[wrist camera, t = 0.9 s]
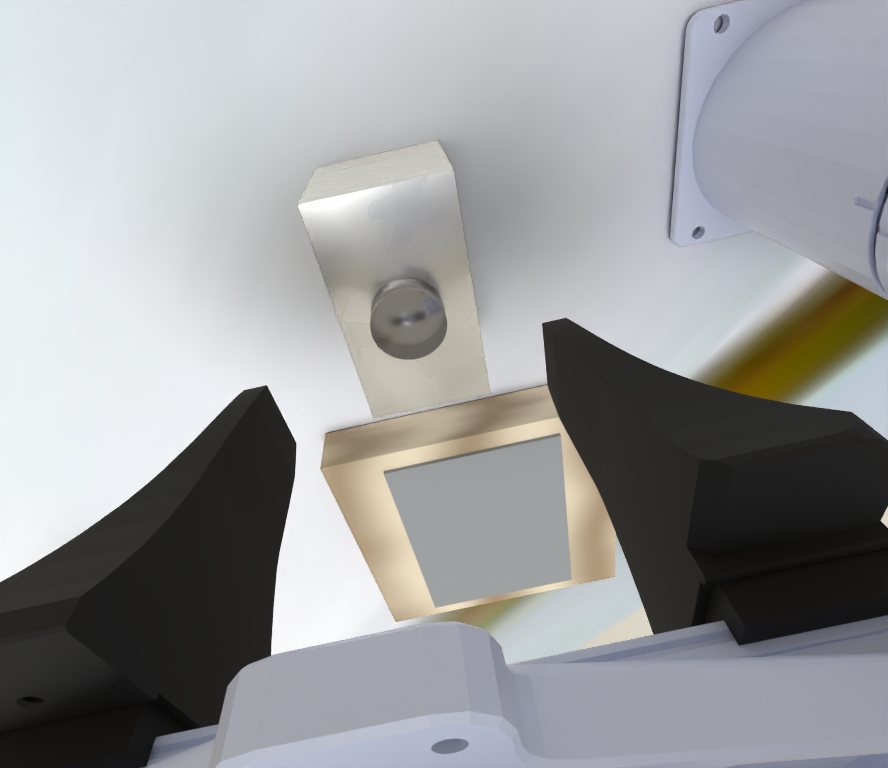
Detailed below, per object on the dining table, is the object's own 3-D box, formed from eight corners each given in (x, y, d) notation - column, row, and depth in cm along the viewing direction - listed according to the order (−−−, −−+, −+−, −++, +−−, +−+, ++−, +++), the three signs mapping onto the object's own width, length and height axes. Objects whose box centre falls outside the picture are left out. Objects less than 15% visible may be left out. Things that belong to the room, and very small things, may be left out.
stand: (598, 373, 24) (619, 406, 22) (600, 543, 33) (616, 579, 30) (325, 433, 25) (319, 471, 23) (394, 586, 33) (395, 625, 31)
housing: (437, 139, 18) (458, 178, 13) (471, 329, 22) (495, 410, 18) (316, 167, 18) (292, 215, 13) (375, 349, 23) (373, 435, 18)
